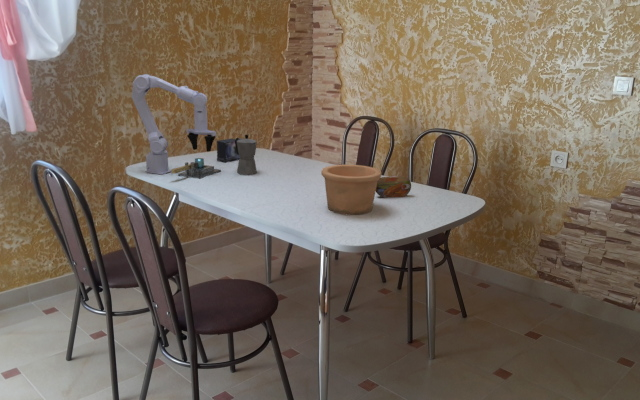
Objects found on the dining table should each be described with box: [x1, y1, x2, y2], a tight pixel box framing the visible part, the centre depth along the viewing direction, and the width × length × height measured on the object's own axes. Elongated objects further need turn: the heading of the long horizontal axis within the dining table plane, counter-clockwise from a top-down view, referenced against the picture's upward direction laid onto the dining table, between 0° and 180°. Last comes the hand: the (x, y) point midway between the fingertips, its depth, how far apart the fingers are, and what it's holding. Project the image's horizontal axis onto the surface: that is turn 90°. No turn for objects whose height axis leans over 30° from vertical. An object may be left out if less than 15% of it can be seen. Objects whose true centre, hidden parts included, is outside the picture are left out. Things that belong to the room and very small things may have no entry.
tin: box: [375, 175, 412, 199], centre depth 219 cm, size 15×3×8 cm, turn 105°
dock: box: [177, 161, 222, 179], centre depth 250 cm, size 12×16×6 cm
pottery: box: [320, 164, 382, 216], centre depth 201 cm, size 22×22×14 cm
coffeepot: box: [235, 134, 258, 176], centre depth 252 cm, size 15×9×18 cm, turn 44°
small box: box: [216, 138, 240, 163], centre depth 278 cm, size 11×6×10 cm, turn 143°
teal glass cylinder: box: [194, 157, 205, 169], centre depth 249 cm, size 4×4×6 cm
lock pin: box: [170, 161, 198, 175], centre depth 239 cm, size 3×16×2 cm, turn 156°
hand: (201, 150), depth 249 cm, fingers open, 7 cm apart
